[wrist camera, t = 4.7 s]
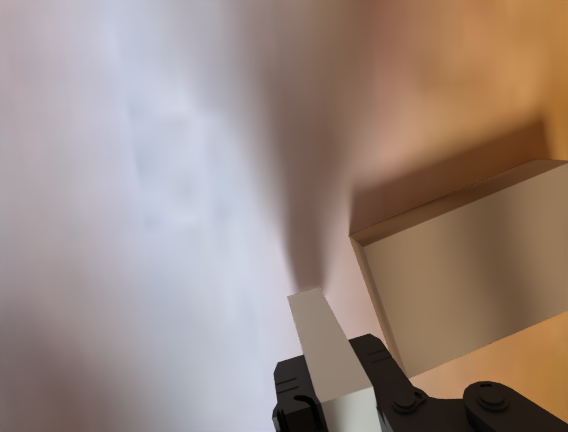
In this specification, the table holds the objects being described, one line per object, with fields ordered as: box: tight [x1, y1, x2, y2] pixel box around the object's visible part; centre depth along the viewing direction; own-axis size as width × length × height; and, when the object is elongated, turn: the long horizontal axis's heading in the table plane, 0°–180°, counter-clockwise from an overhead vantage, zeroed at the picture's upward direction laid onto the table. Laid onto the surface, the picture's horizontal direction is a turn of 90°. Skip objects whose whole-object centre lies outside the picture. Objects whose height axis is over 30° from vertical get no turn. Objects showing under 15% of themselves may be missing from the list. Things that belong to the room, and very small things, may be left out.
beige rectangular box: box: [349, 159, 568, 379], centre depth 17 cm, size 10×7×2 cm
